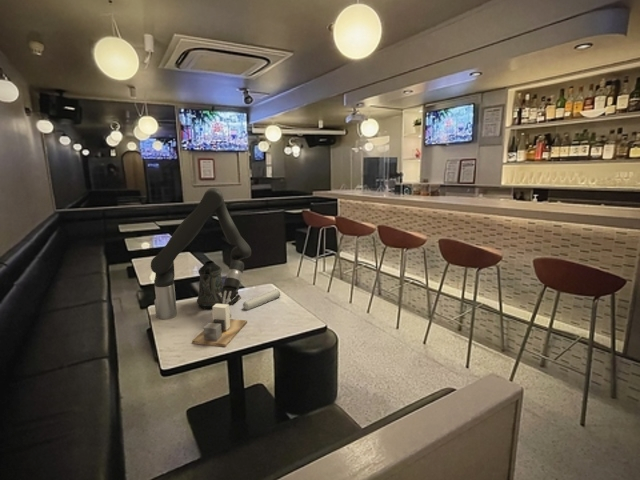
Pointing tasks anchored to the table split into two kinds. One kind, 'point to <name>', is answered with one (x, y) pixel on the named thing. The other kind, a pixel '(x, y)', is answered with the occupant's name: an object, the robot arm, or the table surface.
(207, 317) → the table surface
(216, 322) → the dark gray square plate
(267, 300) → the tube
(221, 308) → the sleeve
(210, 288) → the beer stein
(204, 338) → the pipe stand
